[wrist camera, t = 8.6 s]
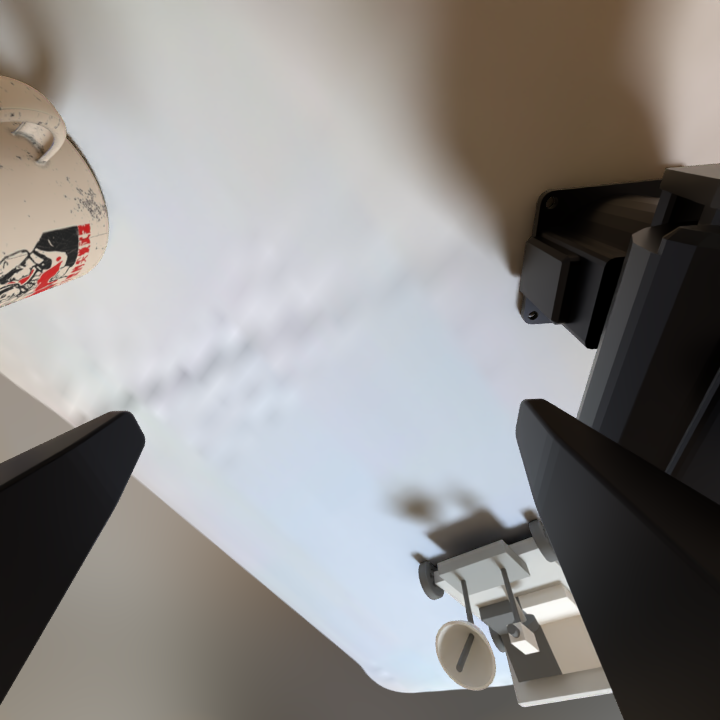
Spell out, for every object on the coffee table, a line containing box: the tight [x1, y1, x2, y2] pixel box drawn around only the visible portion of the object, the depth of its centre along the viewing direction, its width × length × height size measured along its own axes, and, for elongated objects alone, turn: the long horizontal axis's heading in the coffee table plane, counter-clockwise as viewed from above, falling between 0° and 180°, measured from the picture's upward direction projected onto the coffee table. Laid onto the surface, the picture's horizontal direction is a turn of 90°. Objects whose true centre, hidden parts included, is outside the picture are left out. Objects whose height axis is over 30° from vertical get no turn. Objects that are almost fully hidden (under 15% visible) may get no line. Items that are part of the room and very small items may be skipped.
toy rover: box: [419, 520, 613, 707], centre depth 28 cm, size 18×10×12 cm
